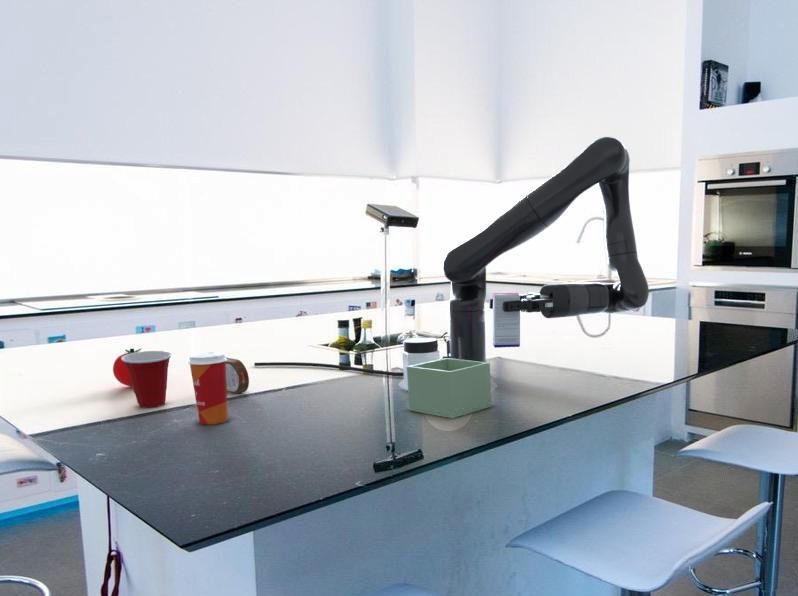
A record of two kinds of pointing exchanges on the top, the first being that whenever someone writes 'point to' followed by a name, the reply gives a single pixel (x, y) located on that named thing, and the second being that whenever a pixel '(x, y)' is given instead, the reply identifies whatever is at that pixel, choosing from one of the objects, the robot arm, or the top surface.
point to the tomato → (122, 369)
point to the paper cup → (210, 386)
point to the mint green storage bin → (449, 387)
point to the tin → (236, 376)
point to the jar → (418, 353)
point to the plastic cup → (148, 376)
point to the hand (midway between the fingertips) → (496, 305)
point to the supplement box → (505, 322)
